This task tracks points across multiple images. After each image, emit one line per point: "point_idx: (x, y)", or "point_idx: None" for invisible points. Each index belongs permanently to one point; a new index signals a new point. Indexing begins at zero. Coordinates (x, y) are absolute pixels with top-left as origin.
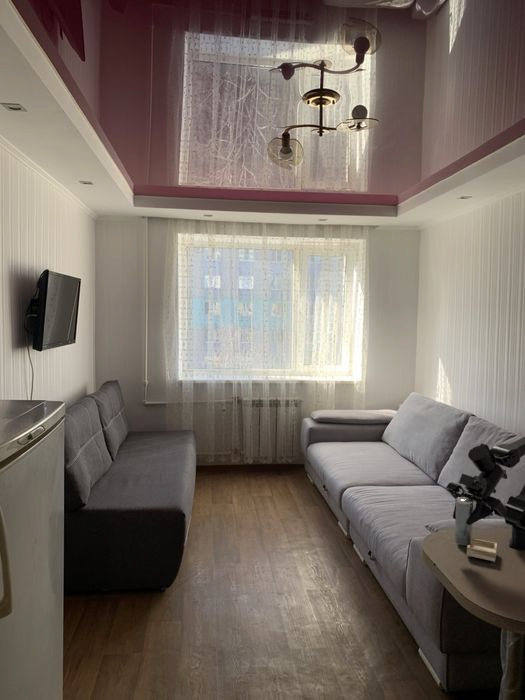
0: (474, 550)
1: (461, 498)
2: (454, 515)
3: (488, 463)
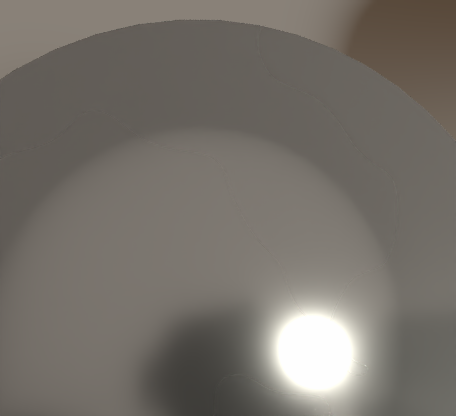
0: None
1: (406, 299)
2: None
3: None
